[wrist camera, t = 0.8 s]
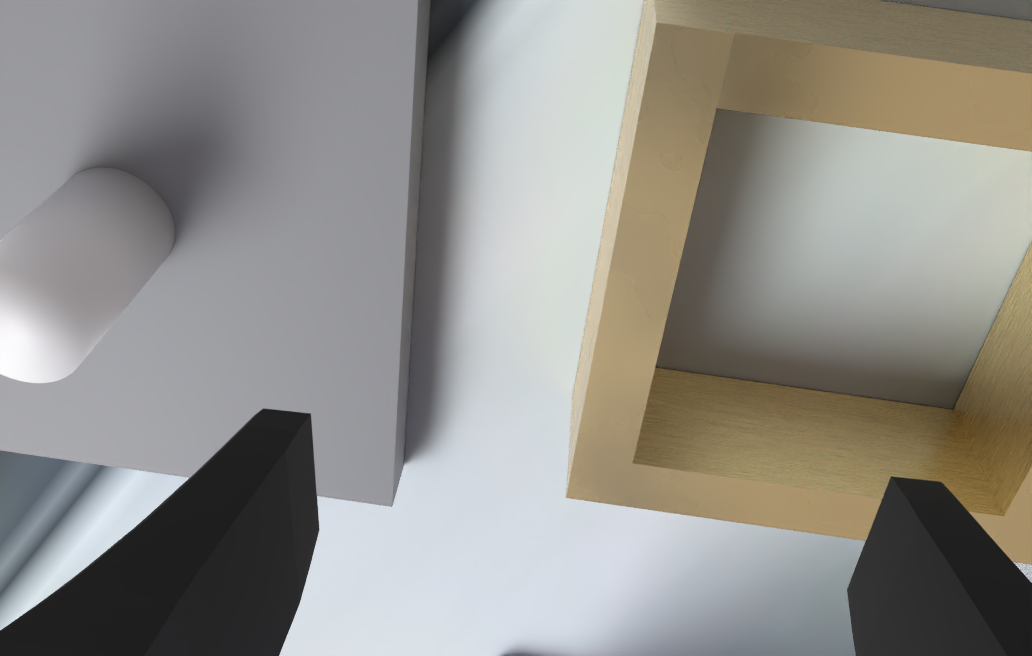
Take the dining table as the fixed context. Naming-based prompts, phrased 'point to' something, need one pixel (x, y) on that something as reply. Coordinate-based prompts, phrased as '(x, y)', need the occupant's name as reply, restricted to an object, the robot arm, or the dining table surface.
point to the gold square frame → (775, 408)
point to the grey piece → (210, 228)
